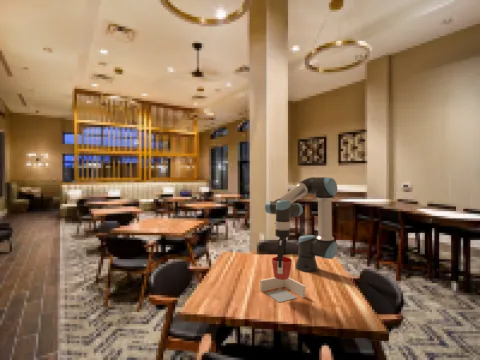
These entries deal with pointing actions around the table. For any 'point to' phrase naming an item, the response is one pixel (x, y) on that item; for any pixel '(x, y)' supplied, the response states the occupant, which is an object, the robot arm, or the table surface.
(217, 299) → the table surface
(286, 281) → the corner wall
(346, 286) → the table surface
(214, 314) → the table surface
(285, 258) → the flower pot
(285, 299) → the pad
